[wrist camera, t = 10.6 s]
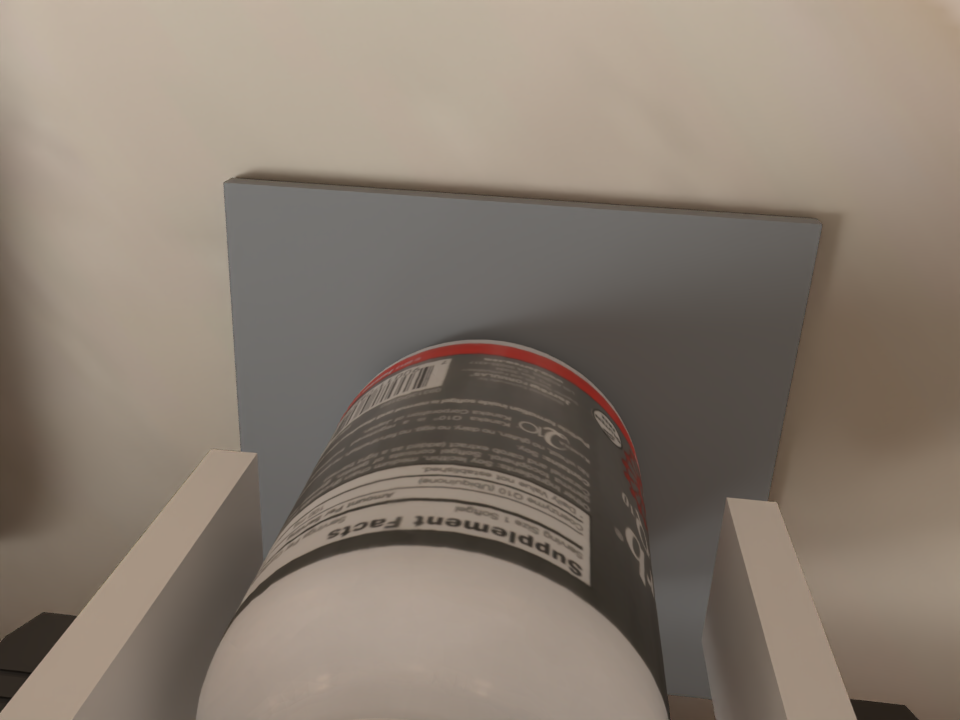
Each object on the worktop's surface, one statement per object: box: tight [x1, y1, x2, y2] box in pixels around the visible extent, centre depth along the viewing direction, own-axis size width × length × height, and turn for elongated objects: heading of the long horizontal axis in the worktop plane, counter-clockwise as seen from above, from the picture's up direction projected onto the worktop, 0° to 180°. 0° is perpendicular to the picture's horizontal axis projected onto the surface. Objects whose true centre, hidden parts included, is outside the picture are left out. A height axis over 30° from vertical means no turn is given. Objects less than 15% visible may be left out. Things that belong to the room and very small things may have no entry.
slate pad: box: [224, 178, 822, 699], centre depth 17 cm, size 10×10×1 cm
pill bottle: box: [196, 340, 670, 720], centre depth 13 cm, size 6×6×10 cm
